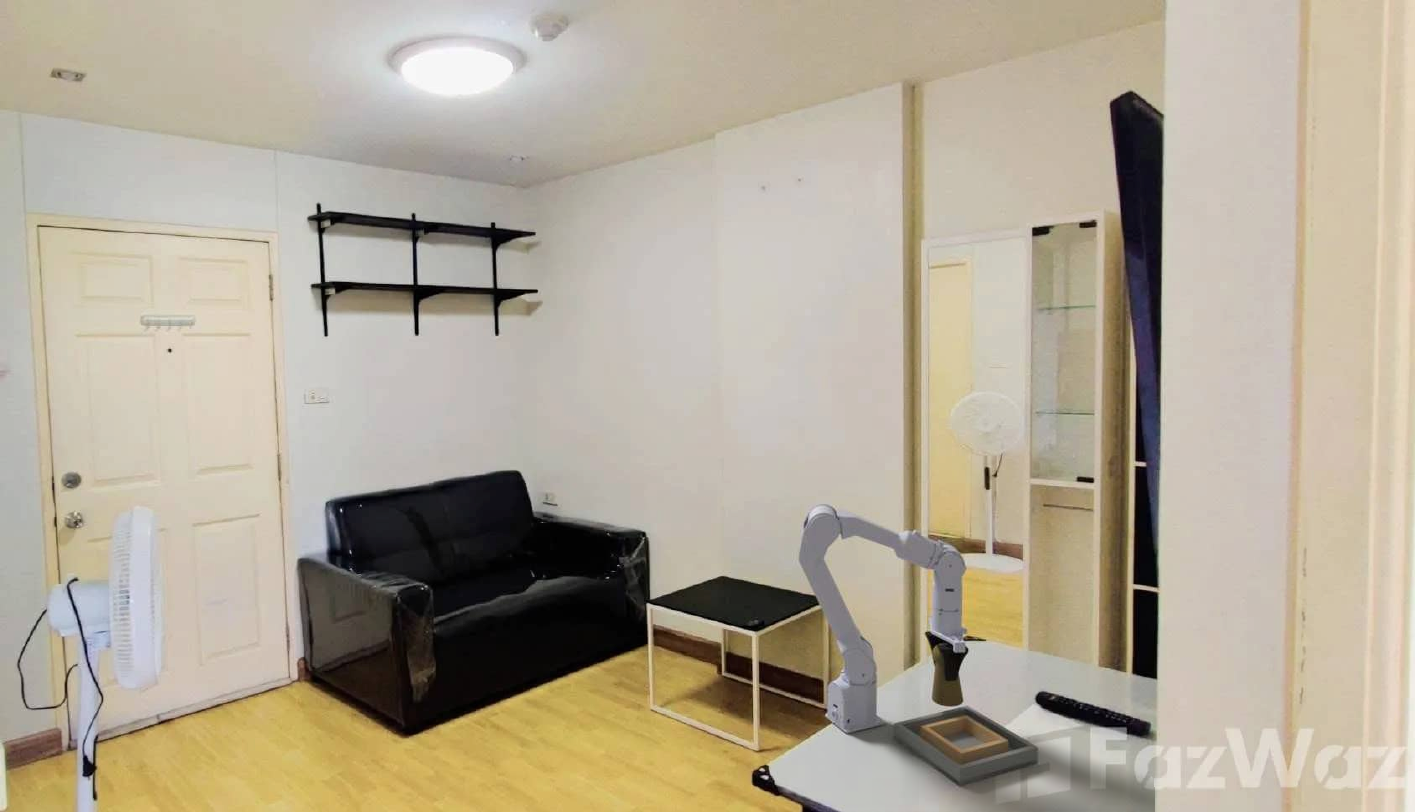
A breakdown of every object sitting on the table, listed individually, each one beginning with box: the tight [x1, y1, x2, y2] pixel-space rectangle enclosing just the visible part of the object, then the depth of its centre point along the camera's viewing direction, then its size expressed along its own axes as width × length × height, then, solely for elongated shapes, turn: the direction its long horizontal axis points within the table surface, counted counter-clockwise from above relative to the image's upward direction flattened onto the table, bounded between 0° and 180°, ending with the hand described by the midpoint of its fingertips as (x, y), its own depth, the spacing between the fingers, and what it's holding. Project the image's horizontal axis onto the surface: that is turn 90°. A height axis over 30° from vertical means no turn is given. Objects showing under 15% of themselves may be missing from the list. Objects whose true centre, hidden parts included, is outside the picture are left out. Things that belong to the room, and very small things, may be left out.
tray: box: [893, 705, 1039, 787], centre depth 145 cm, size 18×18×3 cm
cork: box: [931, 644, 964, 708], centre depth 155 cm, size 6×6×11 cm
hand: (945, 674), depth 154 cm, fingers closed on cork, 5 cm apart
